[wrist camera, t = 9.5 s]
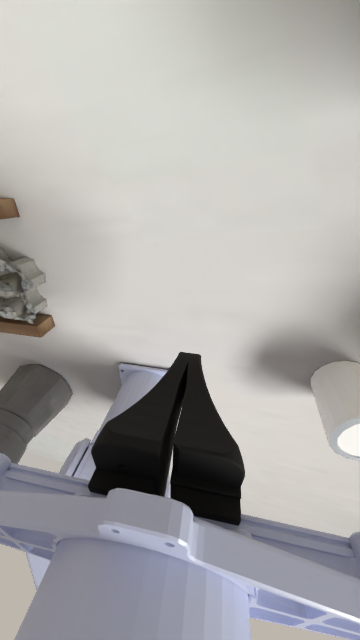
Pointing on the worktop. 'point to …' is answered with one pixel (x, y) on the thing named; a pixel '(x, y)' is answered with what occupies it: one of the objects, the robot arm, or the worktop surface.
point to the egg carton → (20, 288)
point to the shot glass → (339, 405)
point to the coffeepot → (29, 406)
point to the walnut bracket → (42, 323)
